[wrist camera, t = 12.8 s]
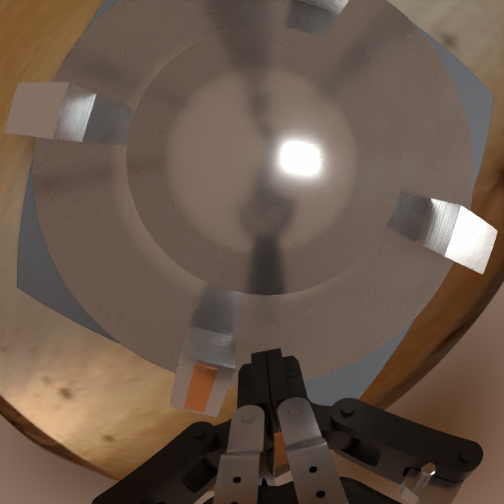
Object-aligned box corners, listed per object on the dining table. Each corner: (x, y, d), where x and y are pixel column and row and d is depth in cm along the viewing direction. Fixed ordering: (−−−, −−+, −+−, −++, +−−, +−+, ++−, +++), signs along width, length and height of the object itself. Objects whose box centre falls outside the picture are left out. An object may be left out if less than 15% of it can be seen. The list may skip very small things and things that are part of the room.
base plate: (28, 279, 16) (16, 287, 14) (159, -48, 9) (154, -60, 8) (345, 395, 19) (350, 409, 18) (481, 98, 13) (494, 95, 11)
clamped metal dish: (134, -42, 8) (115, -75, 4) (477, 74, 11) (517, 65, 7) (36, 303, 14) (1, 332, 10) (369, 390, 17) (389, 430, 13)
